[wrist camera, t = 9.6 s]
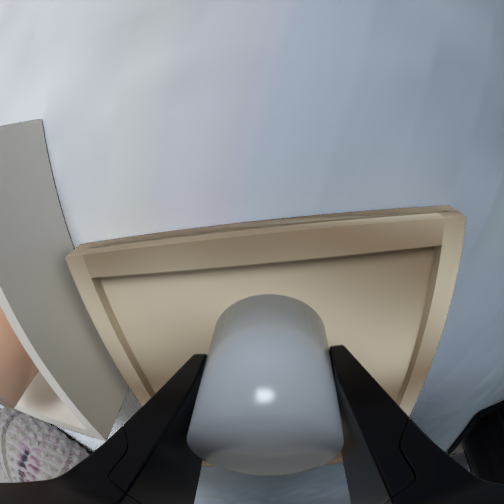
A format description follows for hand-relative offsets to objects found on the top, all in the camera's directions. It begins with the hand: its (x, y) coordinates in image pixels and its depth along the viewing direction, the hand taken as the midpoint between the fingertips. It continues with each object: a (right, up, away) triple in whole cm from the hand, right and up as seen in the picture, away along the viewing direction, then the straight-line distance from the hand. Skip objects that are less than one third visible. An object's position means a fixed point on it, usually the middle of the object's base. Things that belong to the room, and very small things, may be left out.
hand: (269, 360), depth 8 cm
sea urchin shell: (-20, -15, +11) cm, 27 cm away
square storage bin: (-12, +2, +2) cm, 12 cm away
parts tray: (+1, -2, +3) cm, 4 cm away
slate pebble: (0, 0, +1) cm, 1 cm away
